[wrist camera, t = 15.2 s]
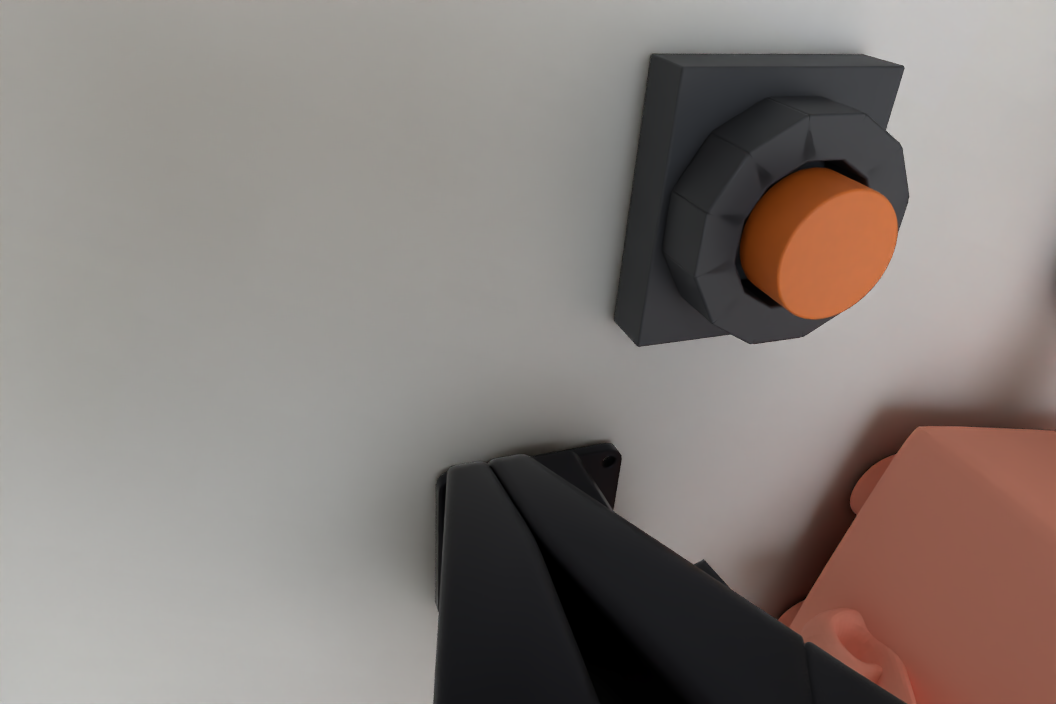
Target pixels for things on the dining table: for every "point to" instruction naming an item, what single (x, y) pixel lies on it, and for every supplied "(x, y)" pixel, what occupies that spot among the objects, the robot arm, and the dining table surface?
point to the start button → (818, 242)
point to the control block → (740, 180)
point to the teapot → (947, 571)
